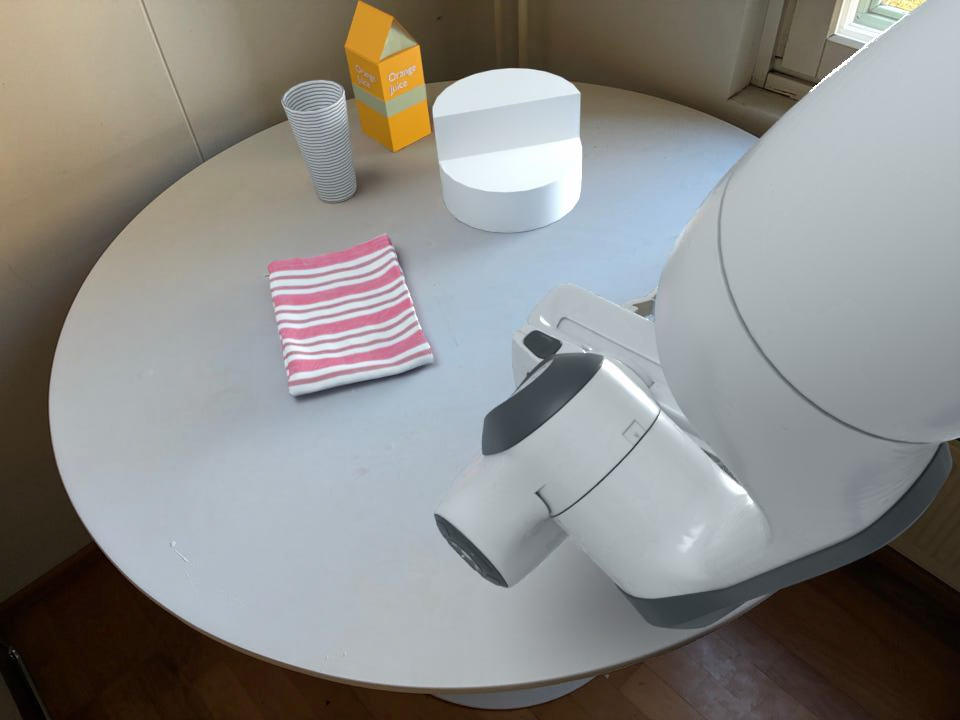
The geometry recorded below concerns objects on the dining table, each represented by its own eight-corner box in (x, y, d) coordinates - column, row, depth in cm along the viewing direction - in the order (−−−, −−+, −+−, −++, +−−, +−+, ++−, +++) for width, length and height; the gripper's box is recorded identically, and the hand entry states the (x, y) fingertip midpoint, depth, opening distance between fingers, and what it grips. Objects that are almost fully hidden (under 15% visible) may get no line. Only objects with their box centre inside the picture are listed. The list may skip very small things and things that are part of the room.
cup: (299, 188, 115) (271, 93, 103) (349, 167, 118) (327, 72, 106) (323, 216, 110) (296, 118, 98) (375, 193, 113) (355, 96, 101)
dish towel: (393, 247, 104) (389, 226, 102) (437, 367, 89) (433, 347, 86) (269, 278, 102) (261, 257, 99) (291, 407, 86) (283, 387, 84)
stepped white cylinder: (455, 244, 104) (445, 159, 94) (433, 163, 117) (422, 81, 107) (598, 218, 105) (603, 132, 95) (560, 141, 118) (560, 58, 109)
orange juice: (393, 152, 120) (370, 26, 105) (361, 132, 124) (335, 8, 110) (432, 132, 123) (415, 6, 108) (399, 113, 128) (379, -10, 113)
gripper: (729, 451, 52) (816, 333, 59) (496, 325, 62) (594, 236, 68) (714, 501, 57) (797, 387, 63) (500, 376, 66) (592, 289, 73)
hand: (690, 308), depth 66 cm, fingers closed on supplement box, 4 cm apart
